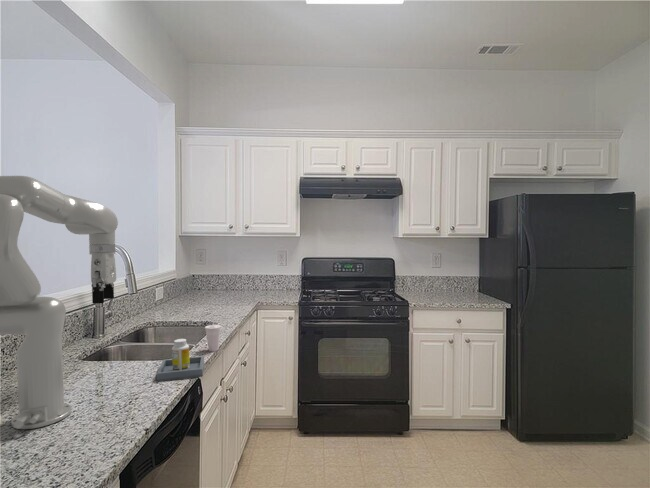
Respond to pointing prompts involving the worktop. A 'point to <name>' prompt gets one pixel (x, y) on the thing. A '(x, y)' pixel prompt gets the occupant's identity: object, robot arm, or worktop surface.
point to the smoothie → (213, 336)
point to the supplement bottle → (180, 355)
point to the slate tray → (194, 370)
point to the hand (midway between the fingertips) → (103, 300)
